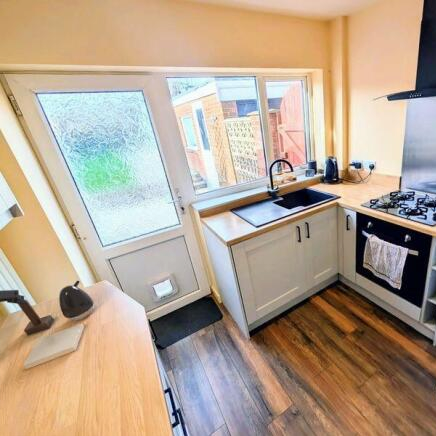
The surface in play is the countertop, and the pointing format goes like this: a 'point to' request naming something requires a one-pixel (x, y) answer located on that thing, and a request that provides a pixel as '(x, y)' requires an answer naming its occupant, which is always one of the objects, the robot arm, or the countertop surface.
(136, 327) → the countertop surface
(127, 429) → the countertop surface
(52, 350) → the tile
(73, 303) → the black pear
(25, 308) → the brown peg on base
